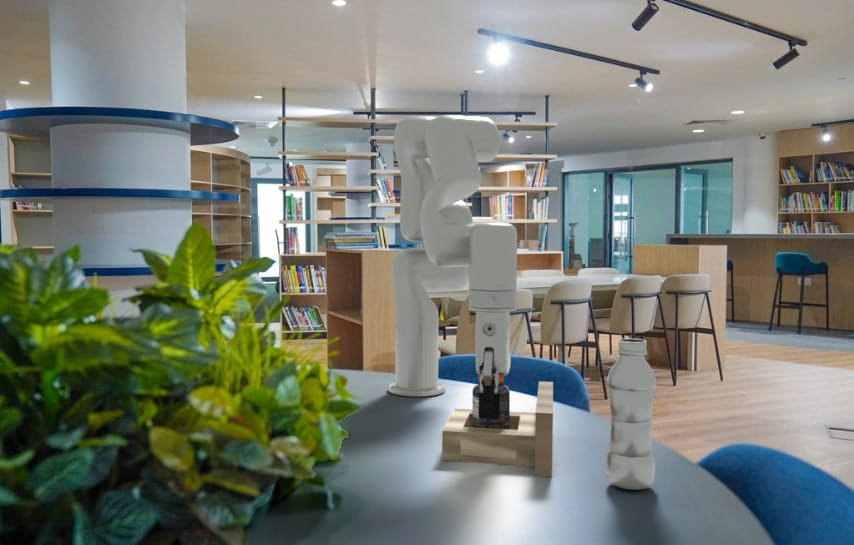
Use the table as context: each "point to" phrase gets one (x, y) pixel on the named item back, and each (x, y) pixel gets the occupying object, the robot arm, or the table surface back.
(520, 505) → the table surface
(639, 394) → the plastic bottle
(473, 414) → the pill bottle
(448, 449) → the socket block
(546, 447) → the backstop wall
